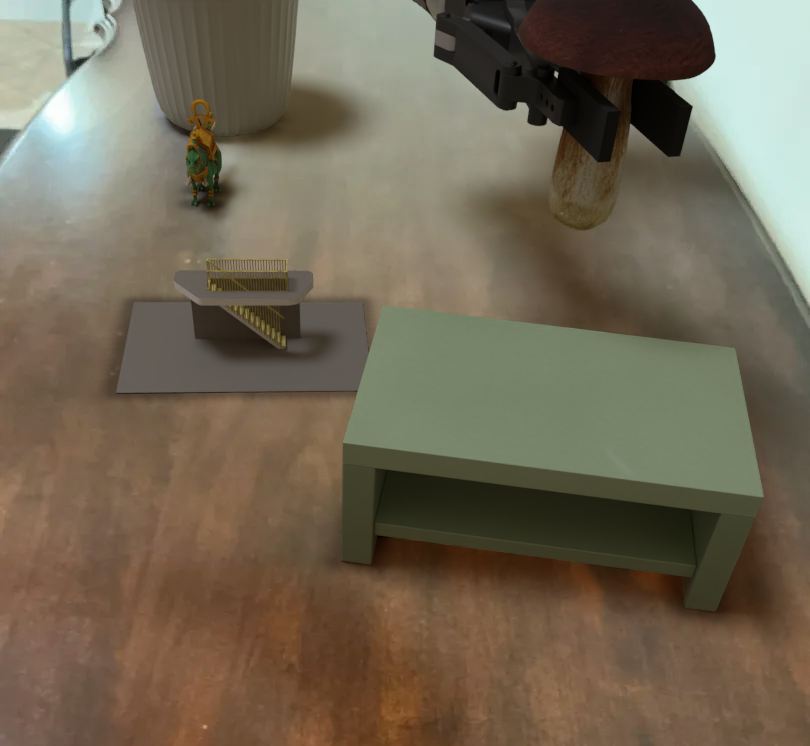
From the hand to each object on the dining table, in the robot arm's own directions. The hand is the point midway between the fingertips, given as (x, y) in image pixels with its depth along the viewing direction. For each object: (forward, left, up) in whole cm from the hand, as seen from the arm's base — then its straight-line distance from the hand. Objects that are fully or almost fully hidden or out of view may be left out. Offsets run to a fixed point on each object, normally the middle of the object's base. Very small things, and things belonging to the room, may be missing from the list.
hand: (644, 134), depth 52 cm
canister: (+38, -47, -21) cm, 64 cm away
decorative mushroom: (+2, -5, -8) cm, 10 cm away
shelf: (+3, +8, -21) cm, 22 cm away
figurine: (+35, -30, -21) cm, 51 cm away
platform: (+25, -6, -21) cm, 33 cm away
